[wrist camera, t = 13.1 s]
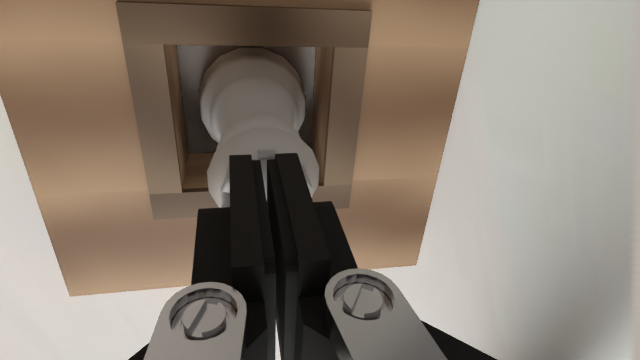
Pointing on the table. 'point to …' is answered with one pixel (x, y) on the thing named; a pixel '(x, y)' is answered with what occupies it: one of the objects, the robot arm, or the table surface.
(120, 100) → the walnut board
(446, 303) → the table surface
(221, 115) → the rook chess piece
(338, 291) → the robot arm
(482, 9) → the table surface
